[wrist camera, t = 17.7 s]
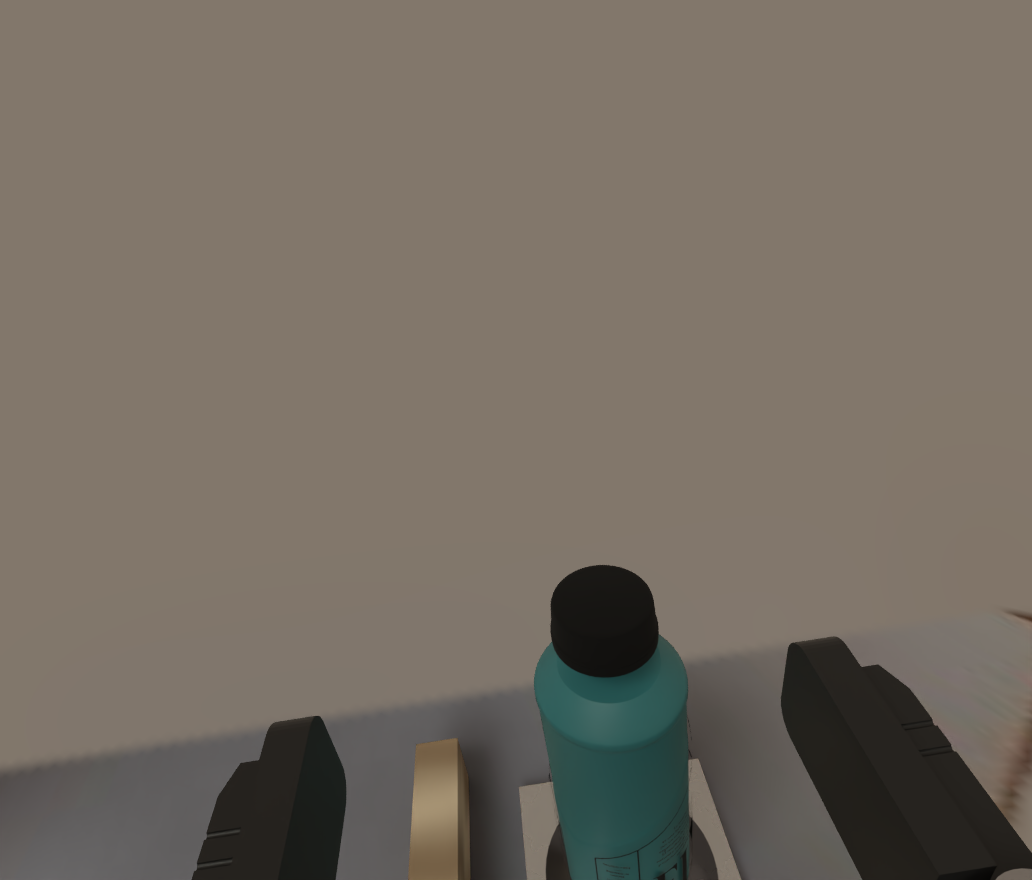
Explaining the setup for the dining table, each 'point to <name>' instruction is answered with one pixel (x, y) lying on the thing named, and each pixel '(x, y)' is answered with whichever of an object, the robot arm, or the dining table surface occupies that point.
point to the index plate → (542, 845)
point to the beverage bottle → (615, 730)
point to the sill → (440, 814)
